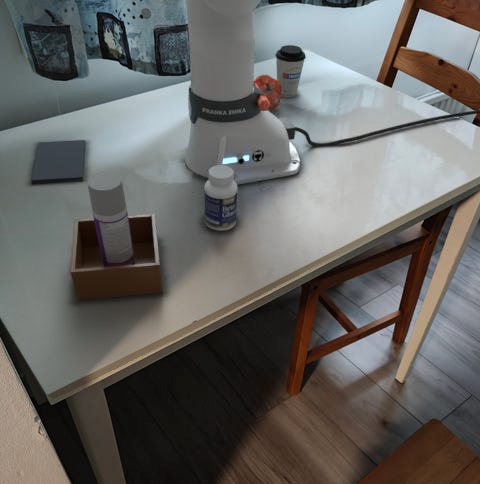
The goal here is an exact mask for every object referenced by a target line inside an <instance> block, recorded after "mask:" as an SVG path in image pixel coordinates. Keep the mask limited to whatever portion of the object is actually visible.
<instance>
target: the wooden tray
mask: <svg viewBox="0 0 480 484" xmlns="http://www.w3.org/2000/svg"><path fill="white" fill-rule="evenodd" d="M156 218H157V217H156V214H155V213H152V214H139V215H138V214H136V215H128V219H129V226H130V233H131V240H132V246H133V253H134V260H135V264H134V265H122V266H110V267H104V265H103V260H102V255H101V251H100V246H99V241H98V236H97V231H96V227H95V222H94V217H93V218H80V219H74V220H73V231H72V232H73V235H72V245H71V246H72V247H71V256H70V257H71V258H70V260H71V261H70V269H69V270H70V271H69V273H70V277H71V280H72V281H71V282H72V284H73V287H74V291H75V296H76V299H77V301H87V300H97V299H108V298H120V297H132V296H142V295H151V294H152V295H153V294H163V293H164V290H163V280H162V269H161V259H160V249H159V240H158V239H159V238H158V229H157V228H158V227H157V219H156Z"/></svg>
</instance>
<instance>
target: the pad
mask: <svg viewBox="0 0 480 484" xmlns="http://www.w3.org/2000/svg"><path fill="white" fill-rule="evenodd" d="M85 155H86V140H85V139H76V140H58V141H39V142H38V146H37V151H36V155H35V161H34V167H33V171H32V172H33V173H32V177H31V182H32V184H37V183H39V184H40V183H53V182H54V183H55V182H70V181H72V182H73V181H83V180H84V172H85V170H84V169H85Z"/></svg>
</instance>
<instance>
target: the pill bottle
mask: <svg viewBox="0 0 480 484" xmlns="http://www.w3.org/2000/svg"><path fill="white" fill-rule="evenodd" d="M207 179H208V180H206V182H205V184H204V188H203V190H204V191H203V193H204V197H203V198H204V199H203V201H204V223H205V225H206V226H207V228H209V229H211V230H214V231H220V232H222V231H228V230H231V229H232V228H234V226H236V223H237V214H238V213H237V212H238V211H237V210H238V185H237V184H236V182H235V181H234V180H233V179H234V171H233V169H232V168H230V167H228V166H225V165H216V166H213V167H211V168H210V169H209V176H208V178H207Z"/></svg>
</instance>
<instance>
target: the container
mask: <svg viewBox="0 0 480 484" xmlns="http://www.w3.org/2000/svg"><path fill="white" fill-rule="evenodd" d="M122 180H123V179H122V178H121V176H120V175H119V174H117V173H115V172H108V171H106V172H98V173H95V174H94V175H91V176H90V177H89V178H88V179H87V188H88V194H89V199H90V205H91V206H90V207H91V211H92V217H93V218H94V222H95V227H96V231H97V236H98V241H99V246H100V251H101V255H102V260H103V265H104V267H110V266H122V265H134V264H135V260H134V253H133V246H132V240H131V233H130V226H129V219H128V216H129V213H128V207H127V201H126V196H125V191H124V186H123V185H124V184H123V181H122Z"/></svg>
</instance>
